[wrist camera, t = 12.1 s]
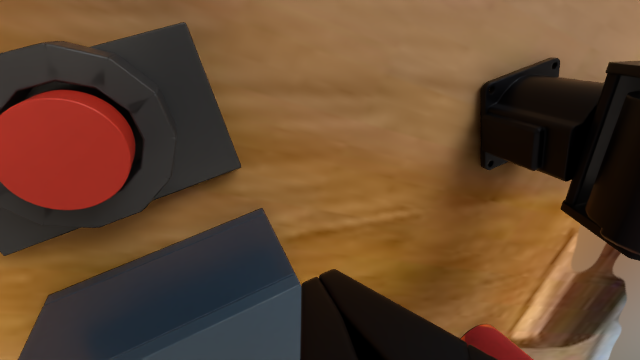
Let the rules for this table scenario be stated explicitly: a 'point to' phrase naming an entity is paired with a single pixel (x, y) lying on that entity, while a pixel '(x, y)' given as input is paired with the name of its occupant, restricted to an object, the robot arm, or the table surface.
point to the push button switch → (141, 114)
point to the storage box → (159, 292)
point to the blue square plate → (237, 330)
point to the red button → (65, 150)
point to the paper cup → (494, 343)
